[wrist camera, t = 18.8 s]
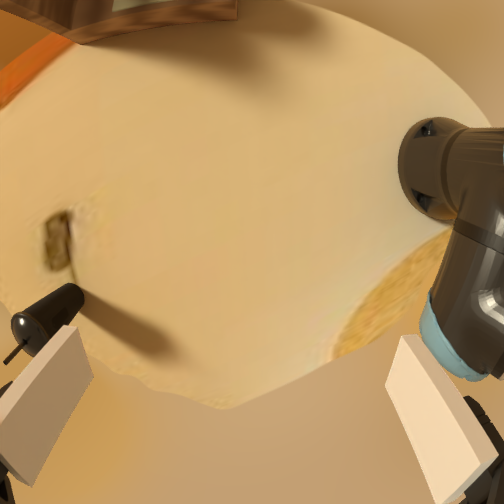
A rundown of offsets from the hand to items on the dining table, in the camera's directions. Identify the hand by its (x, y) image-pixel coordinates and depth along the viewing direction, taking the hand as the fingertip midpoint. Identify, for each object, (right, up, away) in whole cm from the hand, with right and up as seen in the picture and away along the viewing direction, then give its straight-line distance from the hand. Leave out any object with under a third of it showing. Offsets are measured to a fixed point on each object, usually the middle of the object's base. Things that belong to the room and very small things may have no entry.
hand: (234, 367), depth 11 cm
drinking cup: (-30, -3, +34) cm, 45 cm away
